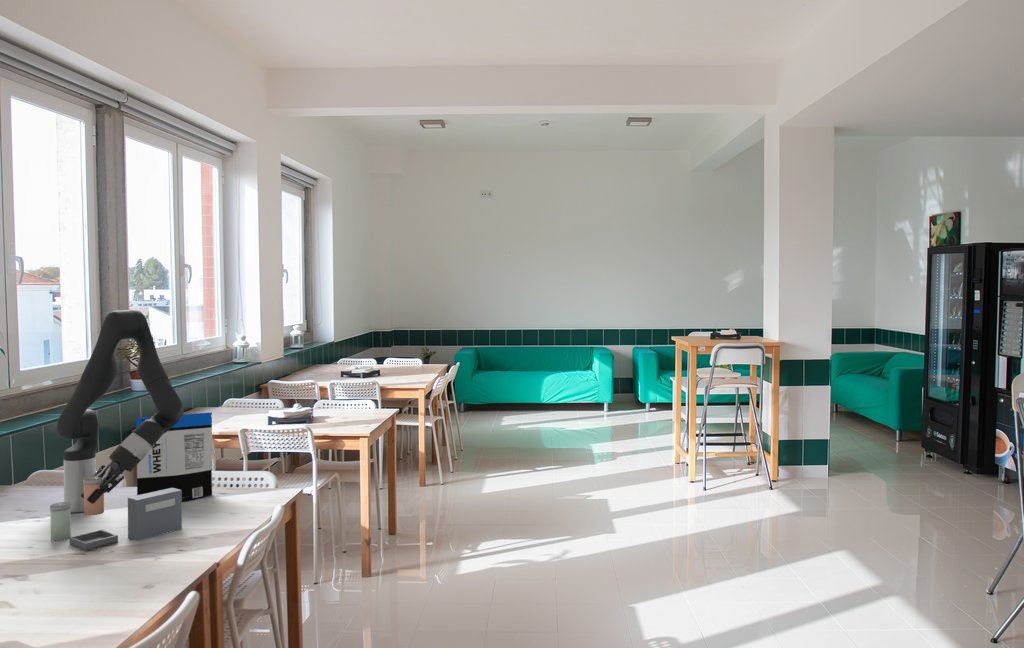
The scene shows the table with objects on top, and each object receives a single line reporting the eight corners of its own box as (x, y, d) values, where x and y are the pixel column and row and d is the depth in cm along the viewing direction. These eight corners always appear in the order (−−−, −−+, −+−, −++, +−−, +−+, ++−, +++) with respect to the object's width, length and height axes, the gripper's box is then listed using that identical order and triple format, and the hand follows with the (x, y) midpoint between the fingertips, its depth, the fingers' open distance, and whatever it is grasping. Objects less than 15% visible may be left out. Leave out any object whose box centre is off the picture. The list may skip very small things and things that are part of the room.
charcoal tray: (69, 545, 210) (69, 537, 210) (101, 536, 217) (101, 529, 217) (85, 551, 205) (85, 543, 205) (118, 542, 212) (118, 535, 212)
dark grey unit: (127, 537, 217) (127, 497, 216) (171, 525, 228) (171, 487, 228) (138, 541, 214) (137, 500, 213) (182, 528, 225) (182, 490, 225)
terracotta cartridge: (80, 513, 210) (79, 479, 210) (98, 509, 214) (98, 475, 214) (89, 516, 207) (88, 481, 207) (108, 512, 211) (107, 477, 211)
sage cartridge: (47, 538, 215) (46, 505, 215) (65, 534, 219) (65, 501, 219) (55, 542, 212) (55, 508, 212) (74, 537, 216) (74, 503, 216)
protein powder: (214, 498, 260) (214, 414, 259) (138, 508, 247) (138, 419, 246) (209, 492, 268) (209, 410, 267) (135, 501, 255) (134, 415, 254)
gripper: (112, 441, 220) (68, 488, 212) (129, 447, 210) (83, 497, 202) (131, 456, 224) (88, 502, 216) (149, 463, 214) (105, 512, 206)
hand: (86, 499), depth 209 cm, fingers closed on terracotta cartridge, 5 cm apart
